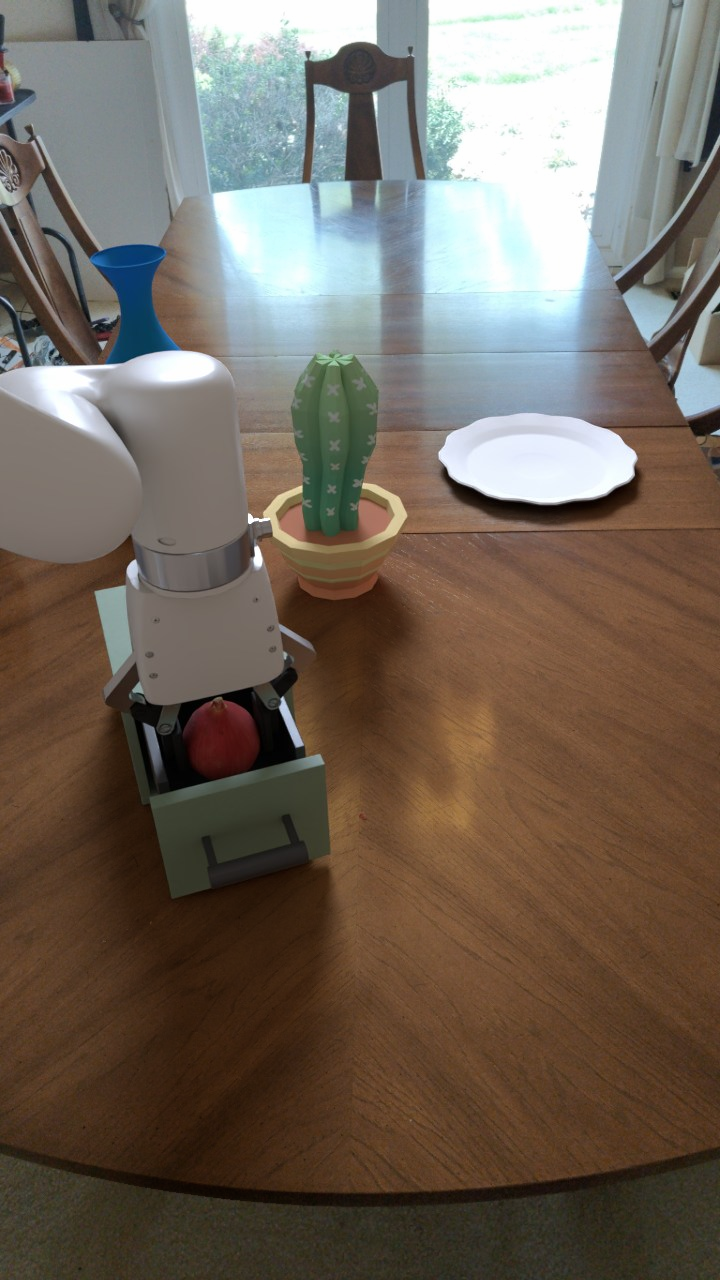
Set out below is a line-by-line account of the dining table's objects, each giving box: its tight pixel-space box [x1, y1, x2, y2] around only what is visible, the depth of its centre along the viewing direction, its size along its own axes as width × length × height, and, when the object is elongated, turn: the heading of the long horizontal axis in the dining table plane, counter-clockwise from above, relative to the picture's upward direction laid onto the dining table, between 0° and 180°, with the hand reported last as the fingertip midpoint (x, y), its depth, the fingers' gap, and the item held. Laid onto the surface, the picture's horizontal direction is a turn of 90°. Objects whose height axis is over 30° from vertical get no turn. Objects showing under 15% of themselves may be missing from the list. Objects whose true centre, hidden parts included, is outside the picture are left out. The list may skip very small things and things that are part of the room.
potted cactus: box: [262, 349, 409, 601], centre depth 101 cm, size 15×16×25 cm
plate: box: [438, 412, 639, 507], centre depth 127 cm, size 25×25×2 cm
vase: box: [89, 243, 183, 365], centre depth 120 cm, size 12×13×28 cm
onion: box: [183, 697, 260, 780], centre depth 74 cm, size 6×6×8 cm
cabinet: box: [94, 584, 297, 806], centre depth 86 cm, size 16×14×12 cm
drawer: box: [141, 687, 332, 900], centre depth 76 cm, size 19×12×10 cm, turn 19°
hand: (222, 748), depth 75 cm, fingers closed on onion, 5 cm apart
